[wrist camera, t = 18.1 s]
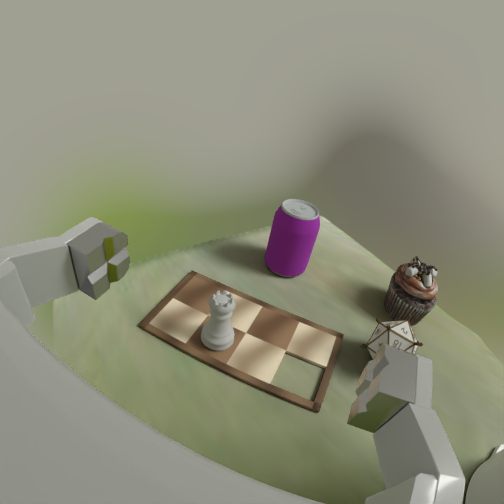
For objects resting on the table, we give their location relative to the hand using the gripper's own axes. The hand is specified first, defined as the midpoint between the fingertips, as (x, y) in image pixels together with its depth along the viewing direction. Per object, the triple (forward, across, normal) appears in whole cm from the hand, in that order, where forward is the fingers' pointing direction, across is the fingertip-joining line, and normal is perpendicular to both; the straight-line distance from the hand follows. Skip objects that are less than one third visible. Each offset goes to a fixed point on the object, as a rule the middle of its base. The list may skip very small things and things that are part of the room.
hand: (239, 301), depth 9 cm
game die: (+26, -15, +28) cm, 41 cm away
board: (+21, +5, +28) cm, 35 cm away
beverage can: (+39, +5, +28) cm, 49 cm away
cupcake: (+40, -18, +28) cm, 52 cm away
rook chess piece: (+18, +8, +28) cm, 34 cm away
